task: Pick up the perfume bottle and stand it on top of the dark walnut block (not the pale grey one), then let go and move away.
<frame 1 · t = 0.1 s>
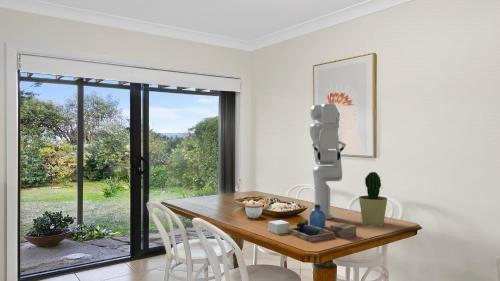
hand: (328, 160, 192), 37 cm above the table, tool pointing down, fingers open, 9 cm apart
filled white bowl: (253, 217, 226), on the table
grey block: (279, 231, 191), on the table
perfume bottle: (317, 227, 201), on the table
potted cactus: (372, 223, 208), on the table
wooden tray: (310, 235, 183), on the table
navy pump bottle: (310, 236, 183), resting in wooden tray
walnut block: (343, 235, 182), on the table
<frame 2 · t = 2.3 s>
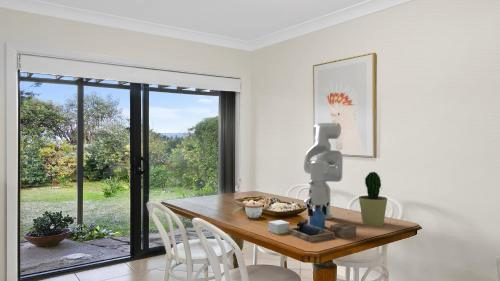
hand: (317, 215, 200), 6 cm above the table, tool pointing down, fingers open, 9 cm apart
perfume bottle: (317, 227, 201), on the table, touching gripper
navy pump bottle: (310, 235, 184), resting in wooden tray
everything else where it was.
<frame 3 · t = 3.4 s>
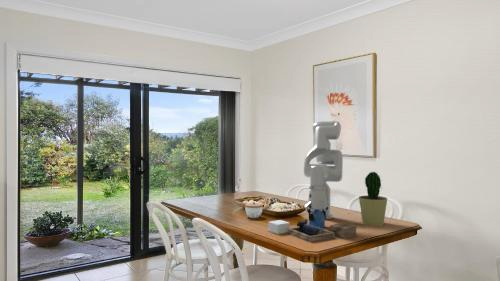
hand: (317, 219, 201), 4 cm above the table, tool pointing down, fingers closed on perfume bottle, 8 cm apart
perfume bottle: (316, 227, 201), on the table, touching gripper
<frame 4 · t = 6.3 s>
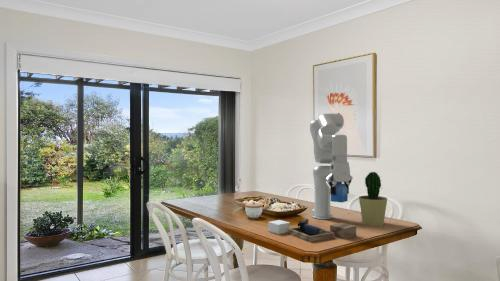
hand: (339, 193, 184), 21 cm above the table, tool pointing down, fingers closed on perfume bottle, 8 cm apart
perfume bottle: (339, 201, 184), point 17 cm above the table, touching gripper
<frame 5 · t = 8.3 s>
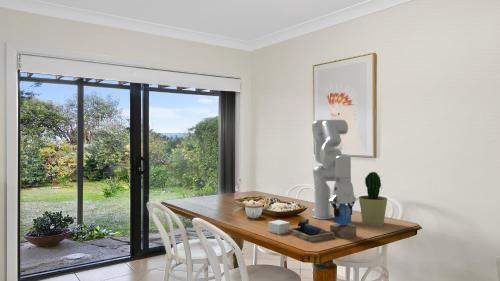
hand: (343, 215, 182), 10 cm above the table, tool pointing down, fingers closed on perfume bottle, 8 cm apart
perfume bottle: (342, 223, 183), point 6 cm above the table, touching gripper
when the fingers open (9 cm above the table, at t = 9.5 s): perfume bottle stays where it is, resting on walnut block.
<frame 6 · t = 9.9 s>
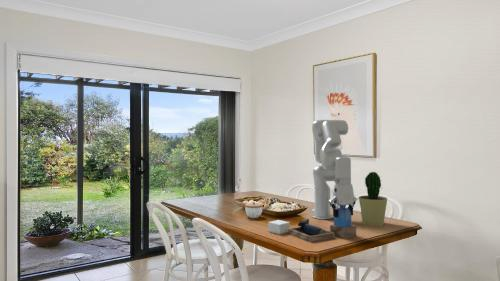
hand: (343, 215, 182), 10 cm above the table, tool pointing down, fingers open, 9 cm apart
perfume bottle: (342, 225, 183), point 5 cm above the table, touching walnut block
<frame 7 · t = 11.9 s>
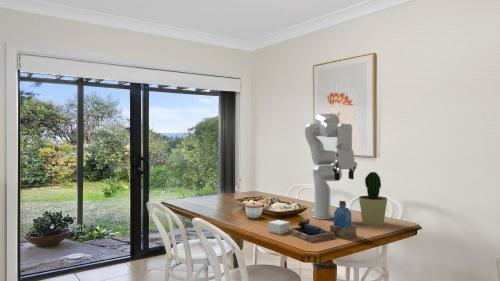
hand: (344, 179, 194), 27 cm above the table, tool pointing down, fingers open, 9 cm apart
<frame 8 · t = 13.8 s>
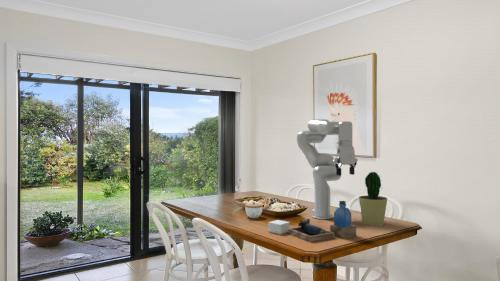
hand: (345, 174, 202), 28 cm above the table, tool pointing down, fingers open, 9 cm apart
at the end: perfume bottle inside the target area on the walnut block (0.5 cm from its centre), point 4.8 cm above the walnut block's base; perfume bottle tilted 0°; the gripper is holding nothing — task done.
